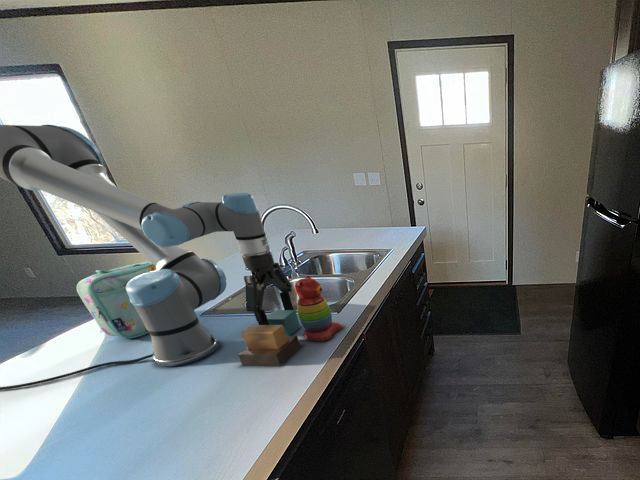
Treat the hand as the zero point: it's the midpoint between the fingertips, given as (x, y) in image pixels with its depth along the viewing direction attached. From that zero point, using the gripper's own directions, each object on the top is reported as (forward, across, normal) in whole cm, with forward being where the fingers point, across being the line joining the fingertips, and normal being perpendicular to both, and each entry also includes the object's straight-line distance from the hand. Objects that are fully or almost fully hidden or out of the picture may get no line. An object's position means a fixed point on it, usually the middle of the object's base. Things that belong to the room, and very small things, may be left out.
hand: (278, 320), depth 118 cm
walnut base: (+4, -15, -6) cm, 17 cm away
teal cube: (+4, 0, -1) cm, 4 cm away
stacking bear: (+4, -1, -14) cm, 14 cm away
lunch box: (+5, +4, +48) cm, 49 cm away
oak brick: (0, -15, -6) cm, 16 cm away
